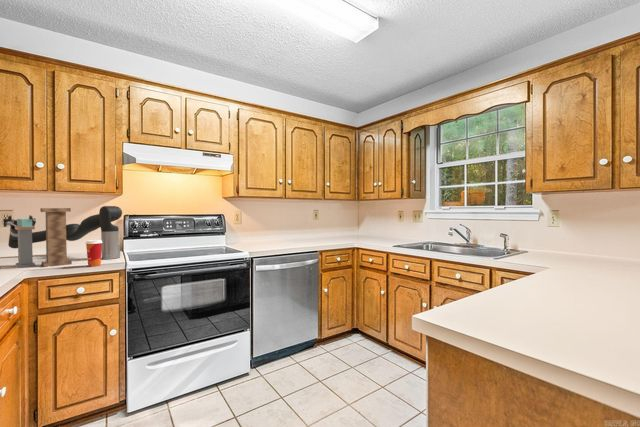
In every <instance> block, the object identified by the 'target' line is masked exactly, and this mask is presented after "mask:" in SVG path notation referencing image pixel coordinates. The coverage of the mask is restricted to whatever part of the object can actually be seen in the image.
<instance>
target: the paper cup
mask: <svg viewBox="0 0 640 427" xmlns="http://www.w3.org/2000/svg"><path fill="white" fill-rule="evenodd" d="M102 243H103V242H102V240H101V239H95V240H94V239H93V240H92V239H91V240H90V239H89V240H86V242H85V246H86V247H85V248H86V256H87V258H86V259H87V266H88V267H91V268H94V267H101V264H102Z"/></svg>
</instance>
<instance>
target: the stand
mask: <svg viewBox="0 0 640 427" xmlns="http://www.w3.org/2000/svg"><path fill="white" fill-rule="evenodd" d="M39 210H40V213H44V214H45V230H46V241H45V250H46V251H45V252H46V253H45V254H46V255H45V256H46V257H45V258H46V260H45V261H44V262H41V266H42V268H47V267H48V266H50V267H56V266H57V267H59V266H65V265H72V260H70V259H68V257H67V255H68V252H67V250H68V249H67V248H68V246H67V240H66V225H67V213H69V212H71V210H72V209H71V207H69V208H68V207H67V208H66V207H57V208H55V207H52V208H51V207H50V208H49V207H45V208H44V207H41V208H40V209H39ZM48 268H49V267H48Z"/></svg>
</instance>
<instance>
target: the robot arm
mask: <svg viewBox="0 0 640 427" xmlns="http://www.w3.org/2000/svg"><path fill="white" fill-rule="evenodd" d="M122 216H123V210H122V209H121V208H120V207H119V206H117V205H116V206H115V205H103V206H101V207H100V208H99V213H98V214H94V215H93V214H92V215H90V216H88V217H86V218H85V219H83V220H82V221H81V222H80V223H69V224H66V241H68V242H74V241H78V240H80V239H83V237H85V236H86V235H88V234H90V233H91V232H94V231H96V230H98V229H100V232H101V237H100V240H102V242H103V243H102V250H101V260H111V259H112V260H113V259H120V258H121V243H120V241H119V240H120V237H119V236H120V235H119V232H120V231H119V226H117V225H114V224H112V222H115V221H118V220H120V219H121V217H122ZM28 219H32V226H35V225H36V223H37V220H36V218H35V217H34V218H33V215H29V216H28ZM7 226H10V227H9V237H8V247H9V248H11V249H18V230H16V229H15V226H17V219H14V218H12V215H9V216H7V218H3V227H4V228H6V227H7ZM35 227H36V226H35ZM40 242H41V243H42V242H46V229H45V230H39V231H32V244H34V243H40Z"/></svg>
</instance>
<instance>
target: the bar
mask: <svg viewBox="0 0 640 427" xmlns="http://www.w3.org/2000/svg"><path fill="white" fill-rule="evenodd" d="M16 220H17V226H20V227H32V219H29V218H16Z"/></svg>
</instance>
